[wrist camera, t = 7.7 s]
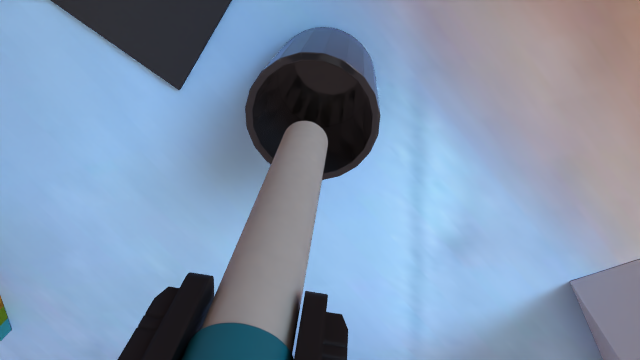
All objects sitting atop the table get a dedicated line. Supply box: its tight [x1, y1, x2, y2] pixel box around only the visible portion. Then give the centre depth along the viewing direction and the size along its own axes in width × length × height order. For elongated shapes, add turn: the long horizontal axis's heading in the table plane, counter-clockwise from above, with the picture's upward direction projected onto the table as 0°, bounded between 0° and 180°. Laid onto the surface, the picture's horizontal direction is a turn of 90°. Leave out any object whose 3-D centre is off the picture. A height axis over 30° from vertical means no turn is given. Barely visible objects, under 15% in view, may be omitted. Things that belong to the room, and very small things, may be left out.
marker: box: [181, 121, 328, 360], centre depth 15 cm, size 3×3×19 cm
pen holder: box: [245, 27, 380, 180], centre depth 30 cm, size 9×9×10 cm
